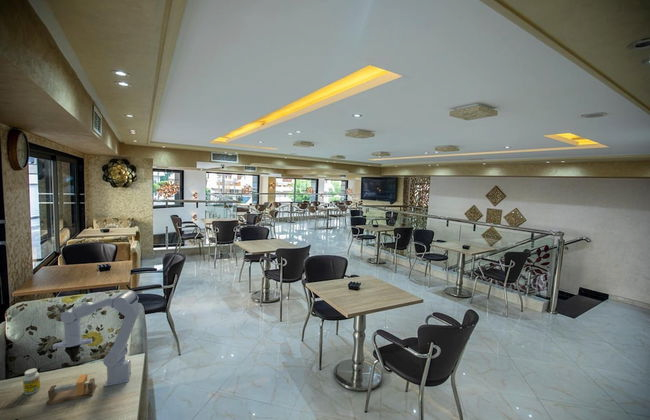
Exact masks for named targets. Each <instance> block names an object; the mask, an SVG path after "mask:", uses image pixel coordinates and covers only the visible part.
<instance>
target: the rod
mask: <svg viewBox="0 0 650 420" xmlns="http://www.w3.org/2000/svg"><path fill="white" fill-rule="evenodd" d="M89 381H90V379H89V380H87V381H85V382H84V387H88V383H89ZM76 383H77V382H74V383H73V382H72V383H68V384H67V383H66V384H62V385H58V386H57V385H56V387H55V388H54V393H57V392H62V391H68V390H73V389H76ZM93 384H94V381H93Z"/></svg>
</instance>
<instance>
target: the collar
mask: <svg viewBox="0 0 650 420" xmlns="http://www.w3.org/2000/svg"><path fill="white" fill-rule="evenodd" d="M85 381H88V374H87V373H84V374H80V376H79V377H78V379H77V381H76V382H75V383H76V393H77V396H79V395H83V394H84V392H85V390H86V388H87V387H84V382H85Z"/></svg>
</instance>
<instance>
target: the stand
mask: <svg viewBox="0 0 650 420" xmlns="http://www.w3.org/2000/svg"><path fill="white" fill-rule="evenodd" d="M95 378H96V377H92V378H90V379H89V380H90V381H89V380H88V381H89V383H88V387H87V388H86V390H85V392H84V394H83V395H79V396H77V393H76V389H73V390H68V391H62V392H57V393H54V388H55V387H56V386H57V385H56V384H55V385H51V386H50V388H49V389H48V392H47V394H48V397H47V399H48V400H47V401H46V404H45V405H46V406H50V405H54V404H59V403H65V402H69V401H74V400H81V399H84V398H89V397H93V394H94V393H95V390H96V388H97V384H96V380H95ZM93 381H94V384H93Z"/></svg>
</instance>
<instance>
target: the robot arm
mask: <svg viewBox="0 0 650 420" xmlns="http://www.w3.org/2000/svg"><path fill="white" fill-rule="evenodd" d="M139 299H140V298H139V296H138V294H137V293H136V291H134V290H132V289H131V290H129V289H128V290H126V291H123V292H120V293H116V294H113V295H111V296H108V297H106V298H103V299H100V300H98V301H96V302H93V301H88V302H87V301H84V302H83V303H81V304H80V305H78V306H76V305H75V306H72V307H70V308H69V309H67V310H66V311H63V312H62V313H61V314H60V317H59V318H60V320H61V322H62V323H63V326H64V327H63V329H64V330H63V331H64V341H61V342H56V343H54V344H53V345H52V350H57V349H60V348H61V349H62V348H65V349H64V352H65V353H66V354H67V356H68V357H69V359H70V361H71V362H76V360H77V357H78V352H79V350H80V348H81V346H82V345H92V343H93V338H91V337H90V338H82V337H81V319H82V318H84V317H88V316H91V315H93V314H94V313H96V311H97V310H99V309H104V308H105V307H110V309H115V310H116V311H117V312H118V313H120V314H121V315H122V316H124V317H123V320H122V322H121V325H120V327H119V329H118V330H119V331H118V332H117V334H116V338H115V340H114V342H113V345H112V346H111V348H110V349H109V351H108V352H107V354H106V355H105V356H104V357H103V360H102V363H103V365H104V366H105V367H106V381H105V384H104V387H109V386H115V385H118V384H119V385H120V384H124V383H128V382H130V377H131V374H132V371H131V368H132V366H131V365H132V364H131V359H126V355H127V354H128V347H129V344H128V341H129V338H130V336H131V334H132V332H133V329H134V326H135V323H136V321H137V319H138V317H139V314H140V308H139Z"/></svg>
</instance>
